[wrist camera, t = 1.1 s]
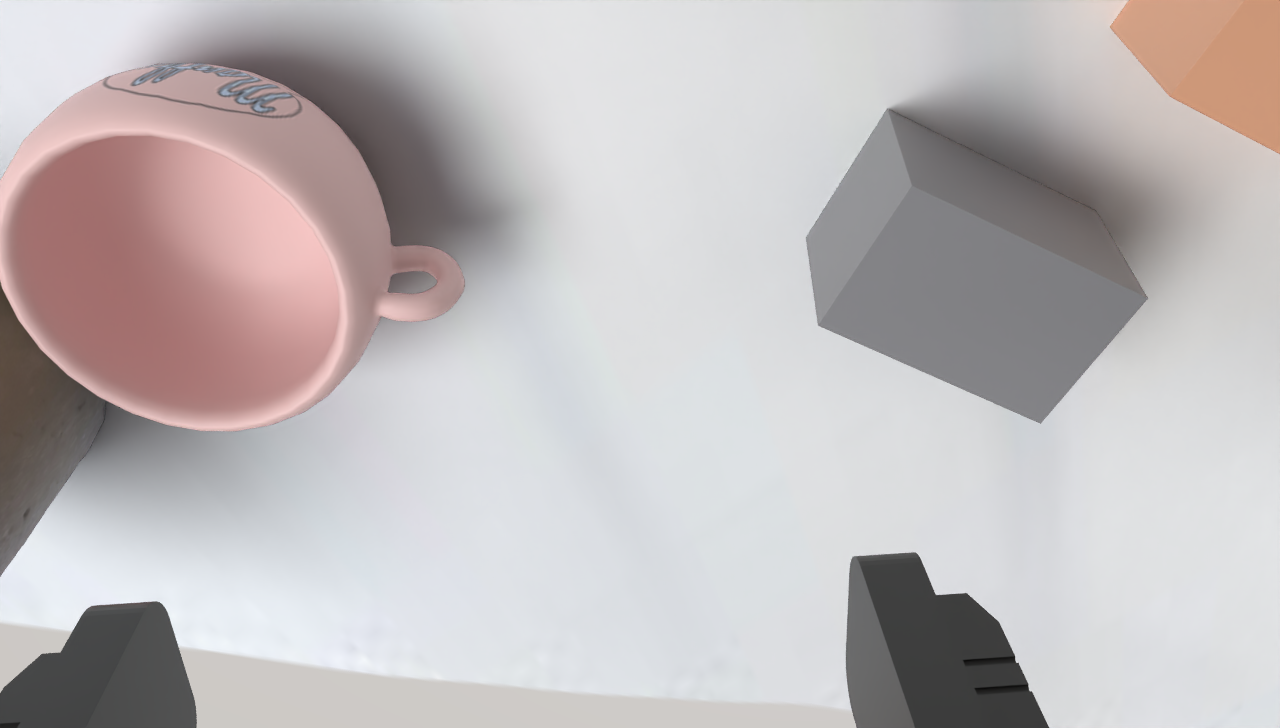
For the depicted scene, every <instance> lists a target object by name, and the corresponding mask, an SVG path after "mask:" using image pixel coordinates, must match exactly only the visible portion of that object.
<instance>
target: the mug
mask: <svg viewBox="0 0 1280 728" xmlns="http://www.w3.org/2000/svg"><path fill="white" fill-rule="evenodd" d="M410 271H423V272H427V273H429V274H431V275H432V276H433V277H434V278H435V279H436V280H437V284H436V285H435V286H434V287H432V288H431V289H429V290H427V291H424V292H422V293H417V294H406V293H389V292H388V289H389V284H390V278H391V276H392V275H393V274H396V273H402V272H410ZM0 282H1V285H2V289H3V291H4V293H5V295H6V297H7V299H8V301H9V302H10V304H11V306H12V308H13V310H14V312H15V314H16V316H17V318H18V320H19V321H20V323H21V324H22V325H23V327H24V328H25V329H26V331H27V332H28V333H29V335H30V336H31V337H32V339H33V340H34V341H35V343H36V344H37V345H38V347H39V348H40V349H41V350H42V351H43V352H44V353H45V354H46V355H47V356H48V357H49V358H50V359H51V360H52V361H53V362H54V363H56V364H57V365H58V366H59V367H60V368H61V369H62V370H63V371H64V372H65V373H66V374H67V375H68V376H70V377H71V378H73V379H74V380H75V381H77V382H78V383H80V384H81V385H83V386H84V387H85V388H87V389H88V390H90V391H91V392H93V393H94V394H95V395H97V396H98V397H100V398H102V399H104V400H106V401H108V402H110V403H112V404H114V405H116V406H118V407H120V408H122V409H124V410H126V411H128V412H130V413H132V414H135V415H138V416H141V417H144V418H147V419H150V420H153V421H156V422H159V423H162V424H165V425H170V426H176V427H181V428H187V429H193V430H199V431H240V430H245V429H251V428H257V427H263V426H268V425H272V424H275V423H278V422H280V421H283V420H286V419H288V418H291V417H293V416H296V415H298V414H301V413H303V412H305V411H307V410H308V409H309V408H311V407H312V406H314V405H315V404H317V403H318V402H320V401H321V400H323V399H324V398H326V397H327V396H328V395H330V393H331V392H332V391H333V390H334V389H335V388H336V387H337V386H338V385H339V384H340V382H341V381H342V380H343V379H344V378H345V377H346V376H347V374H348V373H349V372H350V371H351V370H352V369H353V368H354V366H355V365H356V364H357V363H358V362H359V360H360V358H361V356H362V355H363V353H364V351H365V349H366V348H367V346H368V343H369V341H370V339H371V337H372V335H373V333H374V331H375V329H376V327H377V325H378V323H379V321H380V318H381V316H382V317H386V318H389V319H392V320H395V321H409V322H415V321H426V320H429V319H433V318H436V317H438V316H440V315H442V314H444V313H445V312H447V311H448V310H449V309H451V308H452V307H453V306H454V305H455V303H456V302H457V301H458V299H459V298H460V296H461V294H462V293H463V291H464V287H465V281H464V277H463V274H462V272H461V269H460V267H459V265H458V263H457V262H456V261H455V260H454V259H453V258H452V257H451V256H450V255H448V254H447V253H445V252H444V251H442V250H439V249H436V248H434V247H429V246H422V245H408V246H399V247H397V246H393V245H392V244H391V237H390V227H389V224H388V220H387V217H386V213H385V210H384V206H383V203H382V199H381V196H380V193H379V191H378V188H377V185H376V183H375V181H374V179H373V177H372V175H371V173H370V171H369V169H368V167H367V165H366V163H365V162H364V160H363V158H362V156H361V154H360V152H359V150H358V149H357V148H356V147H355V145H354V144H353V143H352V142H351V140H350V139H349V138H348V137H347V135H346V134H345V133H344V132H343V130H342V129H341V128H340V127H339V125H338V124H336V123H335V122H334V121H333V120H332V119H331V118H330V117H328V116H327V115H326V114H325V113H324V112H323V111H322V110H321V109H319V108H318V107H317V106H316V105H315V104H314V103H312V102H311V101H309V100H308V99H306V98H304V97H303V96H301V95H299V94H298V93H296V92H294V91H293V90H291V89H290V88H288V87H286V86H285V85H283V84H280V83H278V82H275V81H273V80H270V79H268V78H265V77H262V76H260V75H257V74H255V73H252V72H248V71H243V70H238V69H233V68H227V67H222V66H217V65H210V64H198V63H181V64H155V65H151V66H146V67H142V68H138V69H134V70H129V71H125V72H121V73H118V74H115V75H112V76H109V77H106V78H104V79H103V80H101V81H99V82H97V83H95V84H93V85H91V86H89V87H87V88H85V89H83V90H81V91H80V92H78V93H76V94H74V95H73V96H71V97H70V98H69V99H67V100H66V101H65V102H63V103H62V104H61V105H59V106H58V107H57V108H56V109H55V110H54V111H53V112H52V113H51V114H50V115H49V116H48V117H47V118H46V119H45V120H44V121H42V122H41V123H40V124H39V125H38V126H37V127H36V128H35V129H34V130H33V131H32V132H31V133H30V134H29V135H28V136H27V137H26V138H25V139H24V140H23V142H22V144H21V145H20V147H19V149H18V151H17V152H16V154H15V156H14V158H13V159H12V161H11V163H10V164H9V166H8V168H7V170H6V171H5V173H4V175H3V177H2V178H1V180H0Z"/></svg>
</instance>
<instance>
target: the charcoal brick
mask: <svg viewBox="0 0 1280 728" xmlns="http://www.w3.org/2000/svg"><path fill="white" fill-rule="evenodd" d="M806 242H807V249H808V256H809V263H810V271H811V278H812V285H813V292H814V300H815V307H816V314H817V321H818V326H820V327H823V328H825V329H827V330H830V331H832V332H834V333H836V334H839V335H841V336H843V337H845V338H848V339H850V340H852V341H854V342H857V343H859V344H861V345H864V346H866V347H868V348H870V349H873V350H875V351H877V352H879V353H882V354H884V355H886V356H888V357H891V358H893V359H895V360H898V361H900V362H902V363H904V364H907V365H909V366H911V367H913V368H916V369H918V370H920V371H922V372H925V373H927V374H929V375H932V376H934V377H936V378H938V379H941V380H943V381H945V382H947V383H950V384H952V385H954V386H957V387H959V388H961V389H963V390H966V391H968V392H970V393H972V394H975V395H977V396H979V397H981V398H984V399H986V400H988V401H991V402H993V403H995V404H997V405H1000V406H1002V407H1004V408H1006V409H1009V410H1011V411H1013V412H1015V413H1018V414H1020V415H1022V416H1025V417H1027V418H1029V419H1031V420H1034V421H1036V422H1038V423H1040V424H1041V423H1042V421H1043V420H1044V419H1045V418H1046V417H1047V416H1048V414H1049V413H1050V412H1051V411H1052V410H1053V409H1054V407H1055V406H1056V405H1057V404H1058V403H1059V402H1060V400H1061V399H1062V398H1063V397H1064V396H1065V395H1066V393H1067V392H1068V391H1069V390H1070V389H1071V388H1072V386H1073V385H1074V384H1075V383H1076V382H1077V380H1078V379H1079V378H1080V377H1081V376H1082V375H1083V373H1084V372H1085V371H1086V370H1087V369H1088V368H1089V366H1090V365H1091V364H1092V363H1093V362H1094V361H1095V359H1096V358H1097V357H1098V356H1099V355H1100V354H1101V352H1102V351H1103V350H1104V349H1105V348H1106V347H1107V345H1108V344H1109V343H1110V342H1111V341H1112V340H1113V338H1114V337H1115V336H1116V335H1117V334H1118V333H1119V331H1120V330H1121V329H1122V328H1123V327H1124V326H1125V324H1126V323H1127V322H1128V321H1129V320H1130V319H1131V317H1132V316H1133V315H1134V314H1135V313H1136V312H1137V310H1138V309H1139V308H1140V307H1141V306H1142V305H1143V303H1144V302H1145V301H1146V300H1147V299H1148V297H1147V296H1146V294H1145V292H1144V291H1143V289H1142V287H1141V286H1140V284H1139V282H1138V281H1137V279H1136V277H1135V276H1134V274H1133V272H1132V271H1131V269H1130V267H1129V266H1128V264H1127V262H1126V261H1125V259H1124V257H1123V255H1122V254H1121V252H1120V250H1119V249H1118V247H1117V245H1116V244H1115V242H1114V240H1113V239H1112V237H1111V235H1110V234H1109V232H1108V230H1107V229H1106V227H1105V225H1104V224H1103V222H1102V220H1101V219H1100V217H1099V215H1098V214H1097V212H1096V211H1095V210H1093V209H1091V208H1089V207H1087V206H1085V205H1083V204H1081V203H1079V202H1077V201H1075V200H1073V199H1071V198H1069V197H1067V196H1065V195H1063V194H1061V193H1059V192H1056V191H1054V190H1052V189H1050V188H1048V187H1046V186H1044V185H1042V184H1040V183H1038V182H1036V181H1034V180H1032V179H1030V178H1028V177H1026V176H1024V175H1022V174H1020V173H1018V172H1016V171H1014V170H1012V169H1009V168H1007V167H1005V166H1003V165H1001V164H999V163H997V162H995V161H993V160H991V159H989V158H987V157H985V156H983V155H981V154H979V153H977V152H975V151H973V150H971V149H969V148H967V147H965V146H962V145H960V144H958V143H956V142H954V141H952V140H950V139H948V138H946V137H944V136H942V135H940V134H938V133H936V132H934V131H932V130H930V129H928V128H926V127H924V126H922V125H920V124H918V123H915V122H913V121H911V120H909V119H907V118H905V117H903V116H901V115H899V114H897V113H895V112H893V111H891V110H889V109H887V110H886V111H885V113H884V115H883V116H882V118H881V119H880V121H879V123H878V124H877V126H876V127H875V129H874V130H873V132H872V134H871V135H870V137H869V138H868V140H867V142H866V143H865V145H864V146H863V148H862V150H861V151H860V153H859V154H858V156H857V157H856V159H855V161H854V162H853V164H852V165H851V167H850V169H849V170H848V172H847V173H846V175H845V176H844V178H843V180H842V181H841V183H840V184H839V186H838V188H837V189H836V191H835V192H834V194H833V196H832V197H831V199H830V200H829V202H828V203H827V205H826V207H825V208H824V210H823V211H822V213H821V215H820V216H819V218H818V219H817V221H816V222H815V224H814V226H813V227H812V229H811V230H810V232H809V234H808V235H807V237H806Z"/></svg>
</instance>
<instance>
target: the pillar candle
mask: <svg viewBox="0 0 1280 728" xmlns="http://www.w3.org/2000/svg"><path fill="white" fill-rule="evenodd" d="M105 403H106V400H104V399H102V398H100V397H98V396H97V395H95V394H94V393H93V392H91V391H90V390H88V389H87V388H85V387H84V386H83V385H81V384H80V383H78V382H77V381H75V380H74V379H73V378H71V377H70V376H68V375H67V374H66V373H65V372H64V371H63V370H62V369H61V368H60V367H59V366H58V365H57V364H56V363H54V362H53V361H52V360H51V359H50V358H49V357H48V356H47V355H46V354H45V353H44V352H43V351H42V350H41V349H40V348H39V347H38V345H37V344H36V343H35V341H34V340H33V339H32V337H31V336H30V335H29V333H28V332H27V331H26V329H25V328H24V327H23V325H22V324H21V323H20V321H19V320H18V318H17V316H16V314H15V312H14V310H13V308H12V306H11V304H10V302H9V301H8V299H7V297H6V295H5V293H4V291H3V289H2V285H1V282H0V576H1V575H2V573H3V572H4V570H5V569H6V568H7V566H8V565H9V564H10V562H11V561H12V560H13V558H14V557H15V556H16V554H17V552H18V551H19V550H20V548H21V547H22V546H23V545H24V543H25V542H26V540H27V538H28V537H29V535H30V534H31V533H32V531H33V530H34V528H35V526H36V525H37V523H38V522H39V521H40V519H41V518H42V516H43V515H44V513H45V511H46V510H47V508H48V507H49V506H50V504H51V503H52V501H53V500H54V498H55V497H56V495H57V494H58V492H59V491H60V490H61V488H62V487H63V485H64V484H65V483H66V481H67V480H68V478H69V477H70V475H71V474H72V473H73V471H74V469H75V468H76V466H77V465H78V463H79V462H80V461H81V459H82V458H84V456H85V455H86V453H87V452H88V450H89V448H90V447H91V445H92V443H93V441H94V438H95V437H96V435H97V433H98V431H99V429H100V427H101V425H102V423H103V421H104V417H105Z"/></svg>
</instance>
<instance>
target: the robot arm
mask: <svg viewBox="0 0 1280 728" xmlns="http://www.w3.org/2000/svg"><path fill="white" fill-rule="evenodd" d="M846 673H847V684H848V692H849V698H850V703H851V708H852V712H853V716H854V719H855V723H856V727H857V728H1049V727H1048V724H1047V722H1046V720H1045V718H1044V716H1043V714H1042V712H1041V710H1040V708H1039V706H1038V703H1037V701H1036V699H1035V697H1034V695H1033V693H1032V691H1031V692H1030V691H1029V688H1028V682H1027V680H1026V678H1025V676H1024V674H1023V672H1022V670H1021V668H1020V666H1019V663H1016V661H1015V655H1014V653H1013V651H1012V649H1011V647H1010V645H1009V642H1008V640H1007V638H1006V636H1005V634H1004V632H1003V630H1002V628H1001V626H1000V623H999V622H998V621H997V620H996V619H995V618H994V617H993V616H992V615H990V614H989V613H988V612H987V611H986V610H985V609H984V608H983V607H981V606H980V605H979V604H978V603H977V602H976V601H975V600H974V599H973V598H971V597H970V596H969V595H968V594H967V593H963V594H948V595H935V592H934V590H933V588H932V585H931V583H930V580H929V578H928V575H927V573H926V571H925V568H924V566H923V563H922V561H921V559H920V557H919V556H918V554H917V553H899V554H884V555H869V556H854V557H853V558H852V560H851V564H850V573H849V596H848V619H847V642H846ZM196 721H197V720H196V706H195V700H194V697H193V693H192V690H191V687H190V683H189V680H188V677H187V674H186V671H185V667H184V664H183V661H182V657H181V654H180V651H179V648H178V644H177V641H176V638H175V635H174V631H173V628H172V625H171V622H170V618H169V616H168V613H167V611H166V609H165V607H164V606H163V605H162V604H161V603H160V602H141V603H127V604H112V605H97V606H91V607H89V608H88V609H87V610H86V611H85V612H84V613H83V615H82V616H81V618H80V620H79V621H78V623H77V625H76V627H75V628H74V630H73V632H72V633H71V635H70V637H69V639H68V640H67V642H66V644H65V646H64V648H63V650H62V651H61V653H48V654H41V655H40V656H39V657H38V658H37V659H36V660H35V661H34V662H32V664H30V665H29V666H28V667H27V668H26V669H25V670H23V671H22V672H21V673H20V674H19V675H18V676H16V677H15V678H14V679H13V680H12V681H11V682H10V683H9V684H8V685H6V686H5V687H4V688H3V690H2V691H1V693H0V728H196V724H197V722H196Z"/></svg>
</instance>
